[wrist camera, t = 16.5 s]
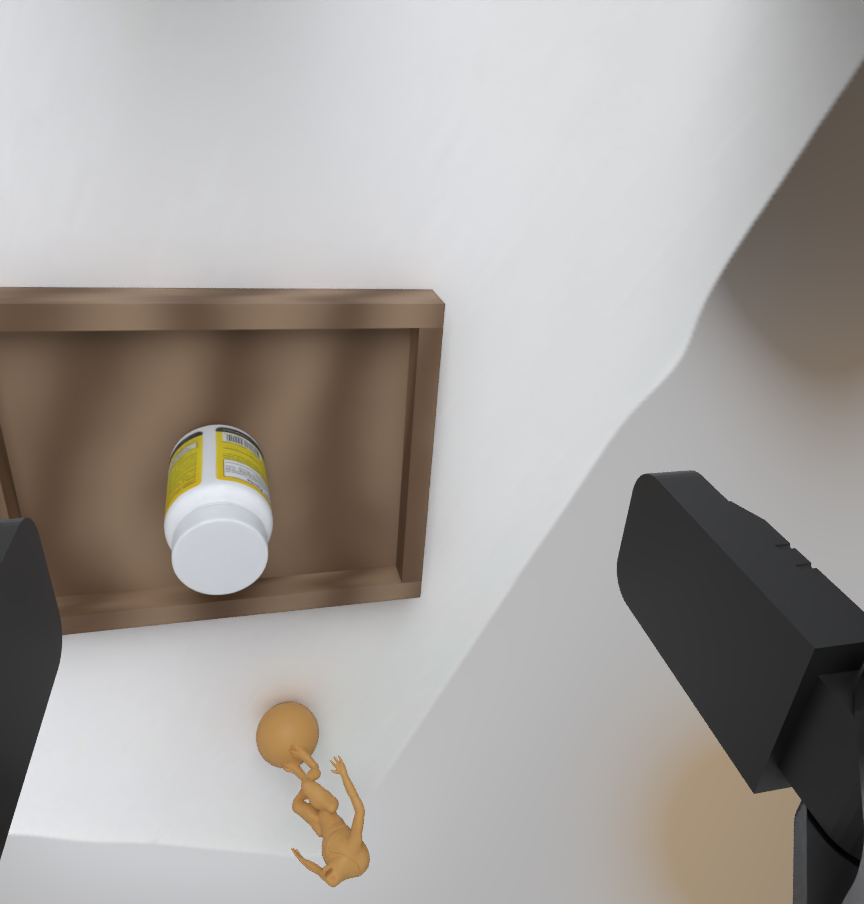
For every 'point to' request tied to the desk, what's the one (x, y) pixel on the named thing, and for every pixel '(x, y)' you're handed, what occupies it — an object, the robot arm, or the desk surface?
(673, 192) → the desk surface
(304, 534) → the walnut tray
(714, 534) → the robot arm
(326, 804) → the figurine
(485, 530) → the desk surface
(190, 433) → the supplement bottle
